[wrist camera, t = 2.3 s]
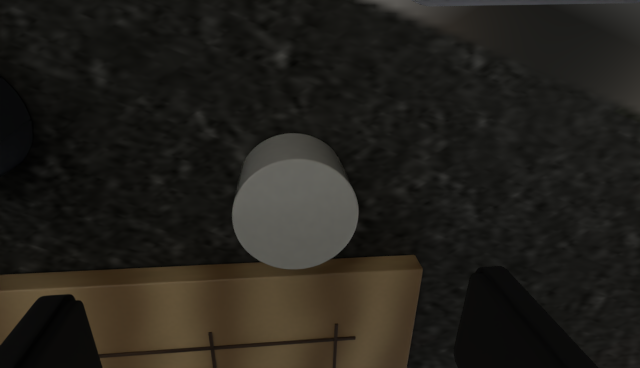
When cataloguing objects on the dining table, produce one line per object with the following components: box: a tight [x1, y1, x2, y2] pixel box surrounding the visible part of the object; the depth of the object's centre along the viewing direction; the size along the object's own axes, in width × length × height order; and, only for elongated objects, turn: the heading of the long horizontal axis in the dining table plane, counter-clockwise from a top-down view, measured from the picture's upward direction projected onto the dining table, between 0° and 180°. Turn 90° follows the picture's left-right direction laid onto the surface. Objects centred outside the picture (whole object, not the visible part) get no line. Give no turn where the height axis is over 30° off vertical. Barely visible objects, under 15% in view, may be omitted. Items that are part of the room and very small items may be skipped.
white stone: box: [232, 133, 359, 269], centre depth 15 cm, size 5×5×3 cm
